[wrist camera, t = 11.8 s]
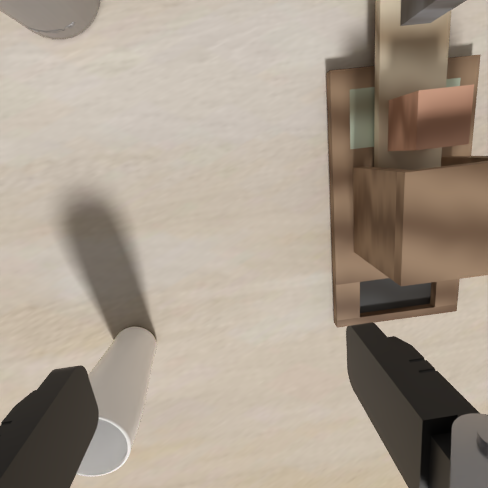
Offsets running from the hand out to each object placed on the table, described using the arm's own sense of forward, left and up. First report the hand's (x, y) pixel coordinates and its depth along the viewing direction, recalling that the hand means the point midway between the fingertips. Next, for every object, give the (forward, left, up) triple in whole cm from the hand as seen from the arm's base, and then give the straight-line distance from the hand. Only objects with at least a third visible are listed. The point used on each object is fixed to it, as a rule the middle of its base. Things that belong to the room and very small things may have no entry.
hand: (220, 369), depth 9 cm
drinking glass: (+16, -13, -28) cm, 35 cm away
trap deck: (+2, +21, -28) cm, 35 cm away
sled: (-9, +21, -26) cm, 35 cm away
